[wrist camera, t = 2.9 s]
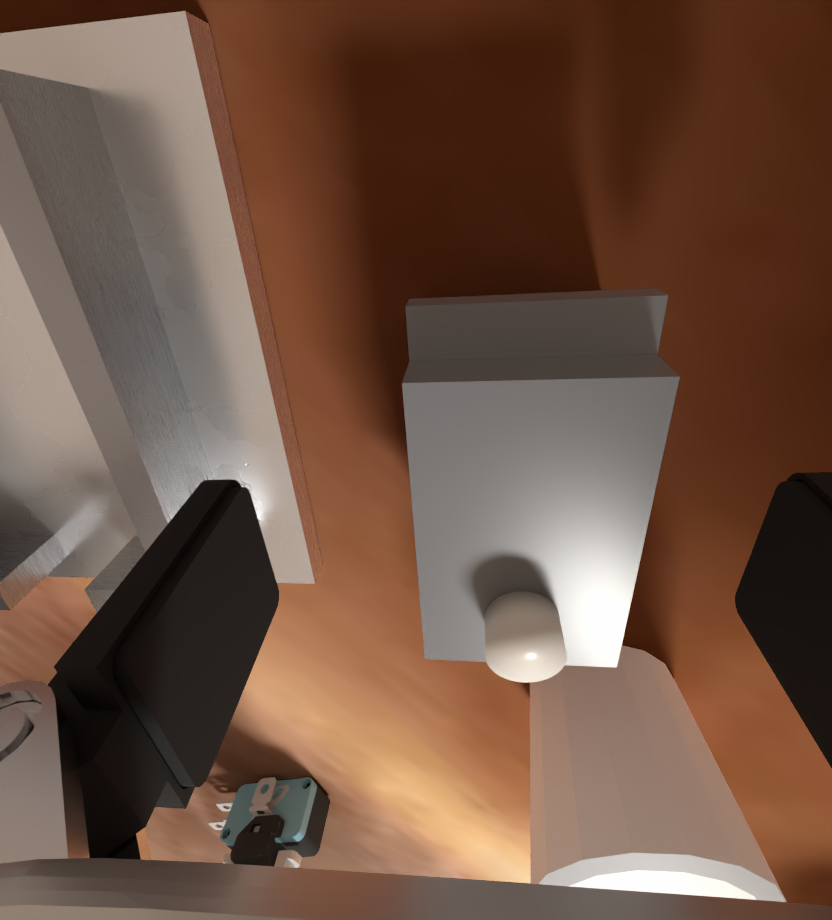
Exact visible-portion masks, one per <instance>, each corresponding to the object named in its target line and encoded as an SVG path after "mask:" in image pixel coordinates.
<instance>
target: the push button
mask: <svg viewBox="0 0 832 920" xmlns="http://www.w3.org/2000/svg"><path fill="white" fill-rule="evenodd" d="M329 804H330V800H329V798H328V797H327V796H326V795H325V794H324V792H323V791H322V790H321V789H320V788H319V787H318V785H317V784H316V783H315V782H314V781H313V780H312V778H310V777H305V778H299V779H290V780H280V781H276V779H275V777H270V778H262V779H261V780H260V781H259V782H258V783H252V784H244V785H242V786H241V787H240V788H239V790H238V791H237V794H236V796H235V799H234V800H230V802H220V803H217V804H216V806H218V807H219V808H220V809H221V810H222V811H230V812H229V815H228V817H227V818H226V819H223V820H221V821H209V825H210V826H211V827H212V828H214V829H215V830H222V832H221V835H220V839H221V841H222V842H223V843H225V844H226V845H227V846H228V847H229V848H230V849H231V850H232V851H231V854H226V855H225V858H224V861H223V863H227V864H242V865H257V866H273V867H288V868H296V867H299V866H300V862H301V858H302V857H309V856H314V855H316V854H317V853H318V851H319V848H320V844H321V840H322V835H323V831H324V826H325V822H326V818H327V813H328V809H329ZM224 805H226V806H229V807H230V808H227V807H225V806H224ZM216 824H219V825H222V826H218V825H216Z"/></svg>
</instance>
